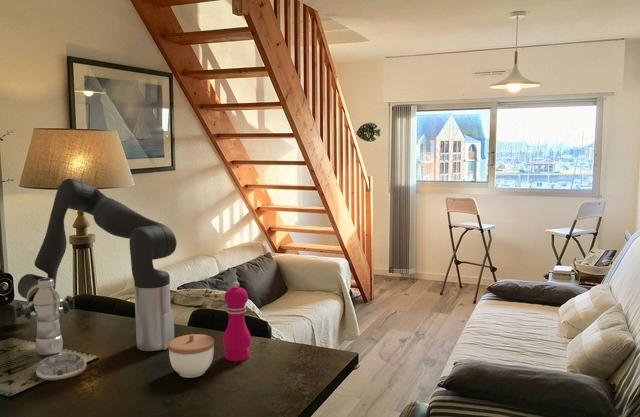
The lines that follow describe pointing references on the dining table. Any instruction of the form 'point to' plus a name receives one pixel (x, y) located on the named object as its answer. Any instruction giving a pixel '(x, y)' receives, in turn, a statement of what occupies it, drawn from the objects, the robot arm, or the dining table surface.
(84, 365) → the tray
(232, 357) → the pepper mill
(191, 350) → the lidded jar
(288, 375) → the dining table surface
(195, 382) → the dining table surface
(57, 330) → the plastic bottle
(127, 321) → the dining table surface
